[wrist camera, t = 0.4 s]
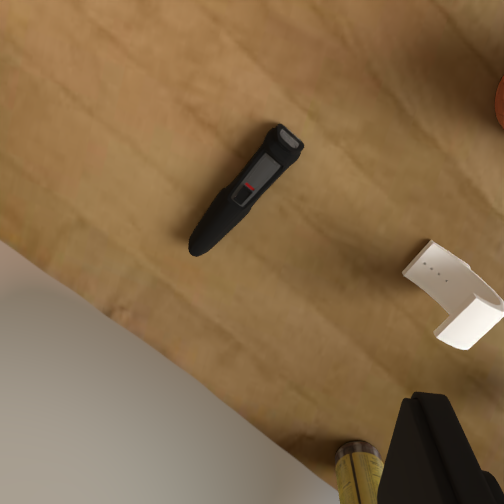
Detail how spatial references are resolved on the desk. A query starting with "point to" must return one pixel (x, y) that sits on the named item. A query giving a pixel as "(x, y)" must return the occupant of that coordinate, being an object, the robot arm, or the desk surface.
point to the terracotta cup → (500, 103)
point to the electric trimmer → (246, 188)
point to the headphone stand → (456, 295)
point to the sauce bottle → (358, 473)
